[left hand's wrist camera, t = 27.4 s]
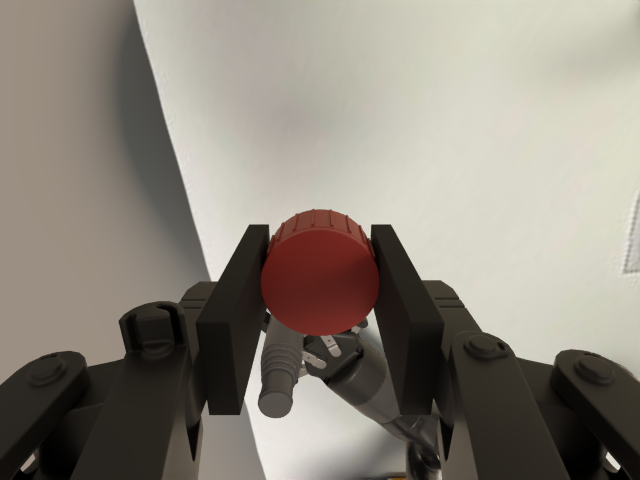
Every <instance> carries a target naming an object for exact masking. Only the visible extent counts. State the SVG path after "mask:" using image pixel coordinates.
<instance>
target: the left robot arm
mask: <svg viewBox="0 0 640 480" xmlns="http://www.w3.org/2000/svg"><path fill="white" fill-rule="evenodd" d="M370 242H371V244H372V247H373V250H374V253H375V256H376V258H375V261H376V264H377V267H378V270H379V292H378V298H377V301H376V303H375V305H374V307H373V308H374V312H375V316H376V320H377V324H378V328H379V332H380V336H381V340H382V344H383V348H384V352H385V356H386V360H387V364H388V368H389V372H390V376H391V380H392V384H393V388H394V392H395V396H396V399H397V403H398V407H399V411H400V415H431V410H432V404H433V398H434V400H435V403H436V406H437V408H438V411H439V418H438V425H437V431H436V437H435V443H434V450H433V453H437V454H438V450H439V454H440V463H441V472H442V480H640V382H638V381H637V380H636V379H635V378H634V377H633V376H631V375H630V374H629V373H628V372H627V371H626V370H624V369H623V368H621V367H620V366H619V365H617V364H616V363H614V362H613V361H611V360H609V359H606V358H604V357H602V356H601V355H598V354H595V353H591V352H588V351H583V350H573V349H570V350H565V351H561V352H560V353H559V354H558V355H556V358H555V361H554V365H549V364H544V363H539V362H534V361H530V360H525V359H522V358H518V357H516V356H515V354H514V352H513V350H512V349H511V348H510V346H509V345H508V344H507V343H505V342H504V341H502V340H501V339H500V338H498V337H495V336H493V335H491V334H488V333H484V332H482V330H481V329H480V327H479V326H478V324H477V323H476V322H475V320H474V319H473V317H472V316H471V314H470V313H469V311H468V310H467V308H465V306H464V304H463V303H462V301H461V300H459V297H458V295H457V294H456V293H455V291H454V290H453V288H451V287H450V286H448V285H447V284H445V283H444V282H442V281H441V280H421V278H420V277H419V275H418V273H417V271H416V269H415V268H414V266H413V264H412V262H411V260H410V258H409V257H408V255H407V253H406V251H405V249H404V248H403V246H402V244H401V242H400V240H399V239H398V237H397V235H396V233H395V231H394V229H393V228H392V226H391V225H371V241H370ZM269 244H270V237H269V225H249V226H248V228H247V230H246V232H245V234H244V235H243V237H242V239H241V241H240V243H239V244H238V246H237V248H236V250H235V252H234V254H233V255H232V257H231V259H230V261H229V263H228V264H227V266H226V268H225V270H224V272H223V273H222V275H221V277H220V279H219V281H218V282H198V283H197V284H195V285H194V286H193V287H191V288H190V289H188V290H187V291H186V293H185V294H184V296H183V297H182V299H181V301H180V302H179V303H174V302H170V301H158V302H152V303H147V304H144V305H141V306H139V307H136V308H134V309H132V310H130V311H129V312H127V313H126V314H124V315H123V316H122V318H121V319H120V320H119V325H120V329H121V333H122V337H123V341H124V345H125V349H126V354H125V357H124V359H121V360H117V361H113V362H109V363H104V364H99V365H94V366H89V367H87V364H86V360H85V357H84V356H83V355H81V354H80V353H78V352H72V351H64V352H56V353H51V354H48V355H45V356H42V357H40V358H38V359H36V360H34V361H31V362H29V363H28V364H26V365H25V366H23V367H22V368H20V369H19V370H18V371H16V372H15V373H14V374H13V375H12V376H10V377H9V378H8V379H7V380H6V381H5V382H3V383H2V384H1V385H0V480H198V472H199V463H200V454H201V445H202V436H203V425H202V419H201V413H202V411H203V408H204V405H205V403H206V400H207V402H208V409H209V415H240V412H241V408H242V404H243V400H244V396H245V392H246V388H247V385H248V381H249V377H250V373H251V369H252V365H253V361H254V357H255V353H256V349H257V345H258V341H259V337H260V333H261V329H262V325H263V321H264V317H265V313H266V309H267V306H266V304H265V303H264V300H263V297H262V288H261V272H262V268H263V265H264V262H265V259H266V256H267V255H266V252H267V249H268V247H269ZM607 452H609V453H610V454H611V455H612V457H613V458H614V459H615V460H616V461H617V463H618V464H619V465H620V466H621V467H620V469H619V470H617V469H616V468H615V467H613V466H612V465H611V463H610V462H609V461H608V460H607V459H606V455H607ZM32 454H34V456H35V460H34V461H33V462H32V464H31V465H30V466H29V467H28V468H27V469H25V470H24V471H23V472H22V471H21V469H20V468H21V467H22V466H23V464H24V463H25V462H26V461H27V460H28V459H29V457H30V456H31V455H32Z"/></svg>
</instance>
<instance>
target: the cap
mask: <svg viewBox="0 0 640 480" xmlns="http://www.w3.org/2000/svg"><path fill="white" fill-rule="evenodd" d="M266 255H267V256H266V259H265V262H264V265H263V268H262V272H261V288H262V297H263V300H264V303H265V304H266V306H267V308H268V310H269V311H270V313H271V314H272V315H273V316H274V317H275V318H276V319H277V320H278V321H279V322H280V323H282V324H283V325H285V326H286V327H288V328H290V329H292V330H294V331H296V332H299V333H302V334H307V335H313V336H327V335H334V334H338V333H341V332H344V331H346V330H349V329H351V328H352V327H354V326H356V325H357V324H359V323H360V322H361V321H362V320H363V319H364V318H365V317H366V316H367V315H368V314H369V313H370V312H371V310H372V309H373V307H374V305H375V303H376V301H377V298H378V292H379V270H378V267H377V264H376V261H375V258H376V256H375V253H374V250H373V247H372V244H371V242H370V239H369V238H367V236H366V234H365V233H364V231H363V230H362V227H361V225H358V224H357V223H356V222H354V221H353V220H352V219H350V218H349V217H348V216H347V215H346V216H345V215H343V214H341V213H338V212H335V211H332V210H315V209H312V210H310V211H305V212H302V213H299V214H298V213H297V214H296V215H295V216H293V217H291V218H290V219H288V220H287V221H286V222H285V223H284V222H283V223H282V224H281V227H280V228H279V229H278V230H277V232H276V233H275V235H272V238H271V241H270V244H269V247H268V249H267V252H266Z"/></svg>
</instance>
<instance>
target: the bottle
mask: <svg viewBox="0 0 640 480" xmlns="http://www.w3.org/2000/svg"><path fill="white" fill-rule="evenodd" d="M303 338H304V334H302V333H299V332H296V331H294V330H292V329H290V328H288V327H286V326H285V325H283V324H282V323H280V322H279V321H278V320H277V319H276V318H275V317H274V316H273V315H272V314H271V315H270V320H269V324H268V329H267V333H266V338H265V342H264V347H263V351H262V356H261V382H262V389H261V393H260V395H259V399H258V406H259V409H260V411H261V412H262V413H263V414H264V415H265V416H268V417H271V418H281V417H284V416H286V415H287V414H288V413H289V412H290V410H291V407H292V404H293V399H292V395H293V388H294V386H295V384H296V380H297V377H298V375H299V371H300V368H301V363H302V353H303Z"/></svg>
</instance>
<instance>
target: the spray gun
mask: <svg viewBox="0 0 640 480" xmlns="http://www.w3.org/2000/svg"><path fill="white" fill-rule="evenodd" d="M387 480H406V478H389V479H387Z"/></svg>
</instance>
